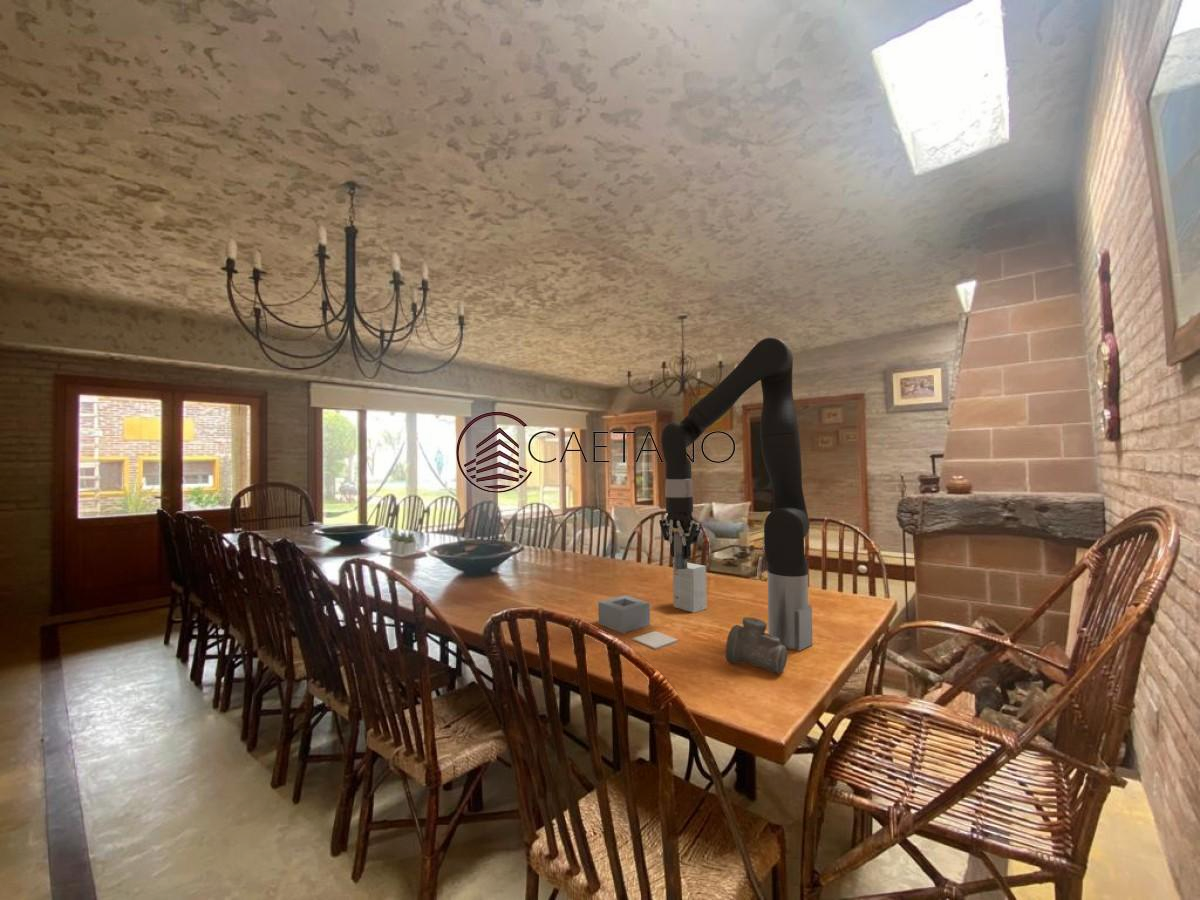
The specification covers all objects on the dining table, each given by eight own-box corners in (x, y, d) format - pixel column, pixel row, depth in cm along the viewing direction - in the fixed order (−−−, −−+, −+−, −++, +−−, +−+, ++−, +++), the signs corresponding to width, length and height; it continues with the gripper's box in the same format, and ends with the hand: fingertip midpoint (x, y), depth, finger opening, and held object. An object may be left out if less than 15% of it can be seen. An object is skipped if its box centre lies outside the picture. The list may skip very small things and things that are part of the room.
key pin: (691, 567, 133) (690, 527, 133) (681, 570, 131) (680, 529, 131) (680, 565, 136) (679, 526, 136) (670, 567, 134) (669, 527, 134)
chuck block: (649, 625, 133) (649, 602, 133) (622, 633, 126) (622, 610, 127) (625, 616, 141) (625, 595, 141) (598, 623, 134) (598, 601, 134)
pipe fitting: (720, 664, 106) (726, 617, 106) (734, 655, 112) (740, 611, 113) (776, 685, 99) (782, 635, 99) (787, 674, 105) (793, 627, 105)
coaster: (678, 641, 121) (678, 639, 121) (655, 649, 116) (655, 647, 116) (655, 632, 127) (655, 631, 127) (632, 639, 122) (632, 638, 122)
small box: (707, 609, 146) (706, 565, 147) (693, 613, 142) (692, 568, 143) (686, 603, 153) (686, 561, 153) (672, 607, 149) (672, 564, 149)
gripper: (708, 495, 131) (709, 559, 130) (669, 493, 142) (670, 552, 141) (689, 497, 126) (691, 563, 126) (651, 495, 137) (652, 556, 137)
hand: (680, 557), depth 133 cm, fingers closed on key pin, 3 cm apart
